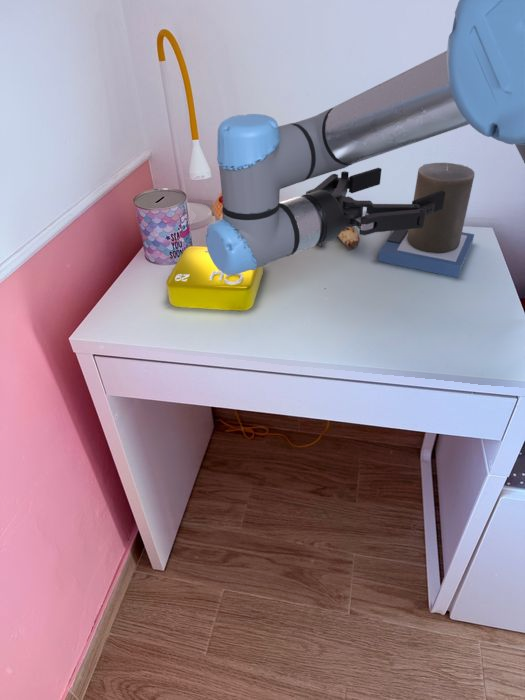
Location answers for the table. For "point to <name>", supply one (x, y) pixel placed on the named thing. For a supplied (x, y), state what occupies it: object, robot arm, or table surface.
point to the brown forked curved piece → (349, 237)
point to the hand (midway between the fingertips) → (409, 187)
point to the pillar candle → (447, 222)
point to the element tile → (210, 283)
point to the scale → (425, 255)
